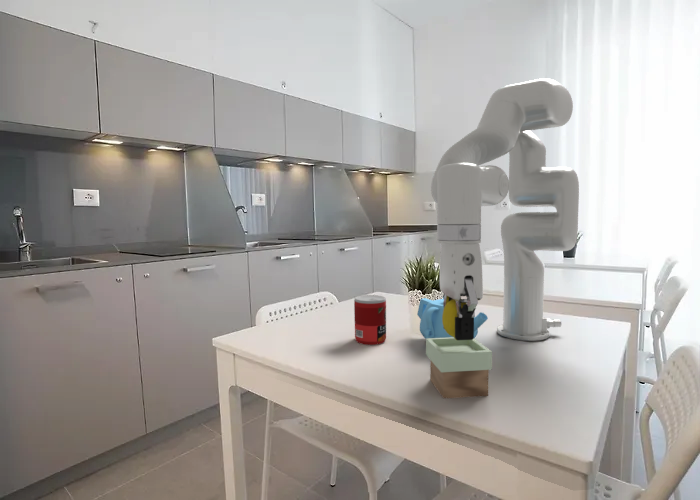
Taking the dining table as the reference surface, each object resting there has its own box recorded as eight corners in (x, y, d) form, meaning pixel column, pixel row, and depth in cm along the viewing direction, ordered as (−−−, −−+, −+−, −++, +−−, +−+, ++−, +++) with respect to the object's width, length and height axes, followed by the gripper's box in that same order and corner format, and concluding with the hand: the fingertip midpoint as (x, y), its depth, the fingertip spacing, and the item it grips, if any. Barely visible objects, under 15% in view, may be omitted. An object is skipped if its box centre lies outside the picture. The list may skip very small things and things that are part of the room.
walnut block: (470, 378, 80) (471, 353, 80) (488, 396, 72) (488, 369, 72) (430, 380, 79) (430, 355, 79) (443, 399, 71) (443, 371, 71)
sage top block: (471, 352, 80) (471, 336, 80) (491, 369, 71) (492, 351, 71) (426, 354, 79) (426, 338, 79) (441, 372, 70) (441, 354, 70)
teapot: (397, 341, 104) (396, 294, 103) (439, 329, 114) (439, 286, 113) (464, 362, 88) (465, 308, 87) (506, 346, 99) (507, 297, 98)
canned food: (384, 346, 100) (384, 301, 99) (352, 344, 102) (351, 300, 101) (387, 336, 108) (387, 295, 107) (357, 335, 109) (357, 294, 108)
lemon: (468, 346, 71) (468, 301, 71) (437, 342, 74) (437, 298, 74) (477, 338, 76) (477, 295, 75) (448, 334, 79) (448, 293, 78)
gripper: (500, 236, 65) (498, 348, 67) (462, 232, 82) (461, 321, 84) (454, 237, 65) (453, 350, 66) (425, 233, 82) (425, 322, 83)
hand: (457, 333), depth 75 cm, fingers closed on lemon, 5 cm apart
